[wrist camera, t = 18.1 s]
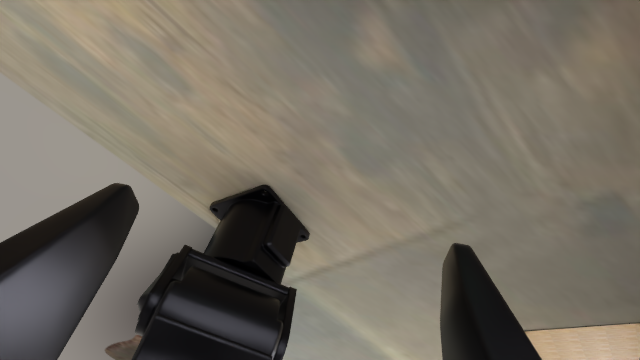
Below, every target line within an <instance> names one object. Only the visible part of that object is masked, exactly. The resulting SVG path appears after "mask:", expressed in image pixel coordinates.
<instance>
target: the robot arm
mask: <svg viewBox="0 0 640 360" xmlns="http://www.w3.org/2000/svg"><path fill="white" fill-rule="evenodd" d="M265 191H266V192H265ZM210 210H211V212H212V213H213V214H214V215H215V216H216V217H217V218H219V219H220V220H221V221H220V223H219V225H218V227H217V229H216V231H215V233H214V235H213V236H212V238H211V240H210V242H209V244H208V246H207V248H206V250H205V252H204V253H201V252H199V251H196V250H194V249H192V247H190V246H187V245H184V247H183V248H182V250H181V251H180V253H176V254H172V256H171V258H170V259H169V261H168V263H167V264H166V266H165V268H164V269H163V271H162V272H161V273H160V275H159V276H158V277H157V278H156V279H155V281H154V282H153V283H152V284H151V285H150V286H149V287H148V289H147V290H146V291H145V292H144V293H143V294H142V296H141V297H140V299H139V301H138V304H137V305H138V308H139V311H140V315H139V318H138V324H137V326H136V330H135V334H137V335H140V336H143V337H142V339H141V341H140V344H139V346H138V348H137V350H136V352H135V354H134V356H133V358H132V360H282V359H283V356H284V353H285V350H286V347H287V343H288V340H289V335H290V329H291V322H292V316H293V310H294V303H295V297H296V290H297V289H294V288H292V287H286V286H284V285H281V282H282V278H283V275H284V272H285V269H286V267H287V266H289V265H290V262H291V259H292V255H293V252H294V249H295V246H296V243H297V242H302V241H306V240H308V239H309V235H310V233H309V232H308V230H307V229H306V228H305V227H304V226H303V225H302V223H301V222H300V221H299V220H298V219H297V218H296V216H295V215H294V214H293V213H292V212H291V211H290V209H289V208H288V207H287V206H286V205H285V204H284V202H283V201H282V200H281V199H280V198H279V197H278V195H277V194H276V193H275V192H274V191H273V189H272V188H271V187H270V186H268V185H262V186H259V187H256V188H253V189H250V190H247V191H245V192H242V193H239V194H236V195H233V196H230V197H228V198H225V199H222V200H219V201H216V202H213V203H212V204H211V206H210ZM138 211H139V204H138V201H137V199H136V197H135V195H134V192H133V190H132V188H131V187H130V186H129V185H125V184H119V183H114V184H111V185H109V186H108V187H106V188H104V189H102V190H100V191H98V192H96V193H94V194H92V195H90V196H88V197H87V198H85V199H83V200H81V201H79V202H77V203H75V204H74V205H71V206H69V207H68V208H66V209H64V210H62V211H60V212H58V213H56V214H54V215H52V216H50V217H49V218H47V219H45V220H43V221H41V222H39V223H37V224H35V225H33V226H31V227H29V228H28V229H26V230H24V231H22V232H20V233H18V234H16V235H14V236H12V237H10V238H9V239H7V240H5V241H3V242H1V243H0V360H57V359H58V357H59V356H60V354H61V352H62V351H63V349H64V347H65V346H66V344H67V342H68V340H69V339H70V337H71V335H72V334H73V332H74V330H75V329H76V327H77V325H78V323H79V322H80V320H81V318H82V317H83V315H84V313H85V312H86V310H87V308H88V307H89V305H90V303H91V302H92V300H93V298H94V297H95V294H96V293H97V291H98V289H99V288H100V286H101V285H102V283H103V281H104V280H105V278H106V276H107V275H108V273H109V271H110V269H111V268H112V266H113V264H114V263H115V261H116V259H117V257H118V255H119V253H120V251H121V249H122V246H123V244H124V242H125V240H126V238H127V236H128V234H129V231H130V229H131V227H132V225H133V223H134V220H135V218H136V216H137V214H138ZM440 330H441V344H442V357H443V360H542V359H541V357H540V355H539V354H538V352H537V351H536V349H535V347H534V346H533V344H532V343H531V341H530V340H529V338H528V336H527V335H526V333H525V332H524V330H523V329H522V327H521V325H520V324H519V322H518V321H517V319H516V317H515V316H514V314H513V313H512V311H511V310H510V308H509V306H508V305H507V303H506V302H505V300H504V299H503V297H502V295H501V294H500V292H499V291H498V289H497V287H496V286H495V284H494V283H493V281H492V280H491V278H490V276H489V275H488V273H487V272H486V270H485V269H484V267H483V265H482V264H481V262H480V261H479V259H478V257H477V256H476V254H475V253H474V251H473V250H472V248H471V247H470V246H468V245H464V244H458V243H454V244H452V246H451V247H450V249H449V252H448V254H447V256H446V258H445V260H444V263H443V269H442V290H441V313H440Z"/></svg>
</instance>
